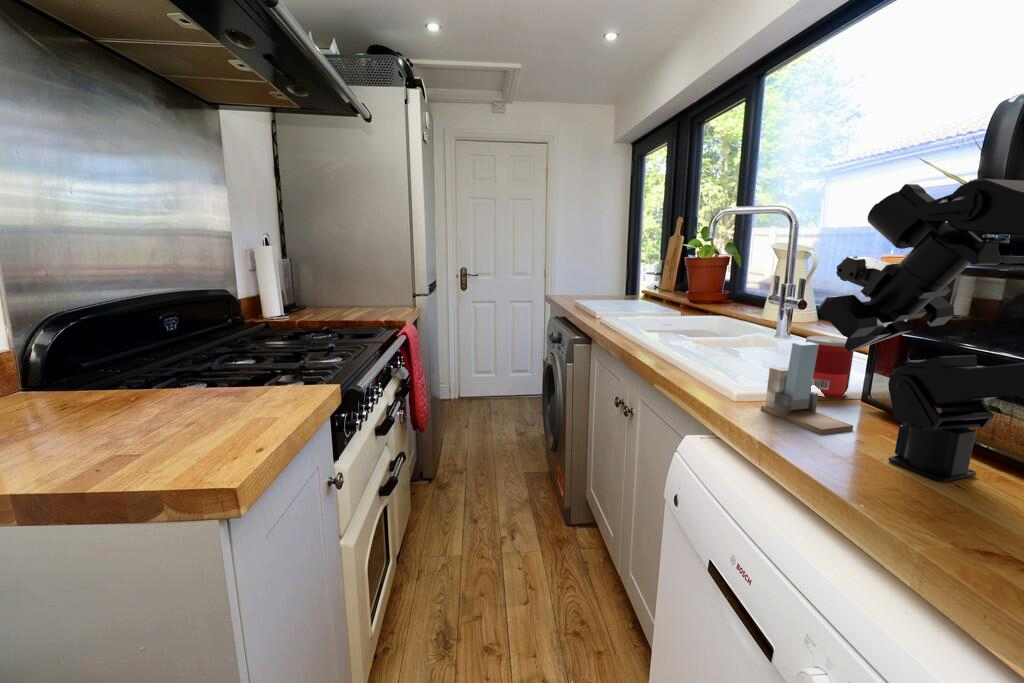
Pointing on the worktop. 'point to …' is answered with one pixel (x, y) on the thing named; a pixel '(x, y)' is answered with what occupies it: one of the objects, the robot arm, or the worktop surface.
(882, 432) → the worktop surface
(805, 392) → the leg
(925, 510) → the worktop surface
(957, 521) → the worktop surface
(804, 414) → the wooden base block holder
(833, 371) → the canned food
